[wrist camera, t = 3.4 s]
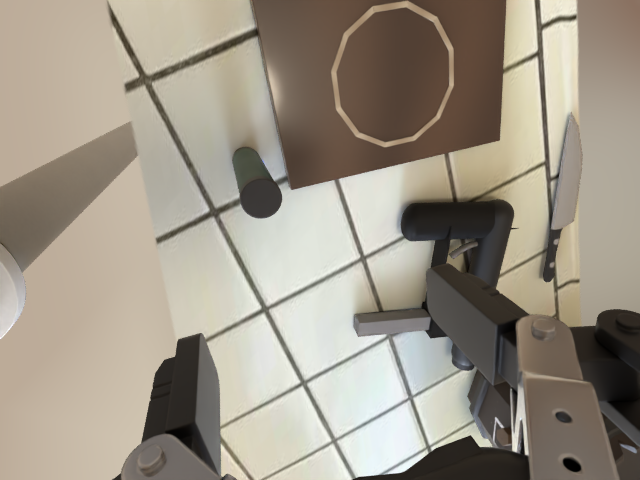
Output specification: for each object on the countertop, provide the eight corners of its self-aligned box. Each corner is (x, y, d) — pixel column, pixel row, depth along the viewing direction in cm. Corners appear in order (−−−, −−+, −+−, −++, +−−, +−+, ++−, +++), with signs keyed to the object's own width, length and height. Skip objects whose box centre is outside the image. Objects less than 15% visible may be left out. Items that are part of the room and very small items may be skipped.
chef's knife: (592, 107, 37) (568, 111, 36) (603, 108, 36) (579, 112, 35) (559, 275, 45) (539, 280, 44) (567, 279, 44) (547, 285, 43)
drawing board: (289, 187, 32) (291, 190, 31) (249, -3, 26) (251, -6, 25) (492, 138, 35) (500, 140, 34) (499, -40, 29) (509, -44, 28)
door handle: (356, 386, 40) (489, 369, 43) (373, 208, 32) (534, 203, 36) (348, 364, 43) (473, 350, 46) (361, 197, 35) (511, 194, 38)
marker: (236, 177, 31) (246, 223, 21) (228, 149, 30) (235, 184, 20) (263, 171, 31) (286, 213, 21) (256, 143, 30) (277, 174, 20)
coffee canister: (481, 324, 45) (602, 435, 31) (593, 319, 50) (741, 413, 36) (442, 434, 51) (528, 568, 37) (545, 420, 56) (654, 533, 42)
